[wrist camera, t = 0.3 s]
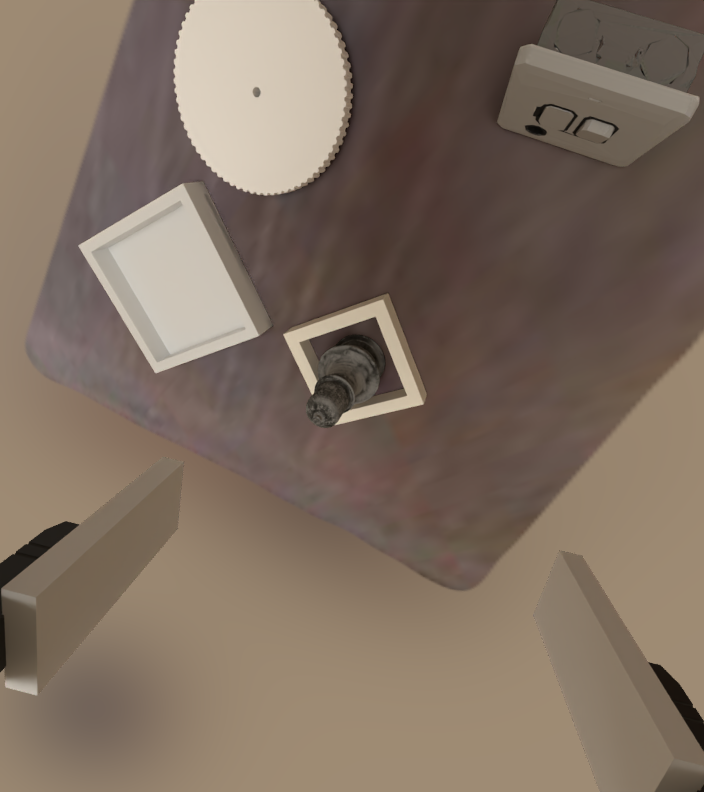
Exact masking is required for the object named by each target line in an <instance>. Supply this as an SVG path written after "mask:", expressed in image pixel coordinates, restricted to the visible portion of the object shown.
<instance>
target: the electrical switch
mask: <svg viewBox="0 0 704 792" xmlns="http://www.w3.org/2000/svg"><path fill="white" fill-rule="evenodd" d="M556 3H557V4H556ZM556 3H555V5H554V7H553V9H552V12H551V14H550V16H549V18H548V20H547V22H546V24H545V26H544V29H543V31H542V34H541V36H540V39H539V42H538V44H537V45H534V44H529V45H525V46H521V47H520V49H519V51H518V55H517V58H516V61H515V64H514V67H513V71H512V74H511V77H510V81H509V84H508V87H507V90H506V94H505V97H504V100H503V104H502V107H501V110H500V114H499V117H498V120H497V123H498V124H499V125H500V126H501V127H502V128H504V129H507V130H510V131H513V132H516V133H519V134H522V135H525V136H528V137H531V138H534V139H537V140H540V141H543V142H546V143H549V144H552V145H555V146H558V147H561V148H564V149H566V150H569V151H572V152H575V153H578V154H581V155H584V156H587V157H590V158H593V159H596V160H599V161H602V162H605V163H608V164H611V165H615V166H618V167H624V166H628V165H629V164H631V163H632V162H633V161H635V160H636V159H637V158H639V157H640V156H642V155H643V154H644V153H646V152H647V151H649V150H650V149H651V148H653V147H654V146H656V145H657V144H659V143H660V142H661V141H663V140H664V139H666V138H667V137H668V136H670V135H671V134H673V133H674V132H675V131H677V130H678V129H680V128H681V127H682V126H684V125H685V124H687V123H688V122H689V121H690V119H691V118H692V116H693V114H694V112H695V111H696V109H697V107H698V105H699V97H698V96H695V95H692V94H688V93H687V91H688V88H689V87H690V85H691V83H692V82H693V80H694V78H695V76H696V71H697V67H698V64H699V62H700V60H701V58H702V56H703V54H704V34H701V33H698V32H695V31H691V30H688V29H685V28H681V27H678V26H674V25H671V24H668V23H664V22H661V21H658V20H654V19H651V18H648V17H644V16H641V15H637V14H634V13H631V12H627V11H624V10H621V9H617V8H614V7H611V6H607V5H604V4H600V3H597V2H594V1H590V0H558V2H557V1H556ZM555 6H556V7H555ZM578 8H580V9H578ZM577 9H578V10H577ZM675 35H676V37H677V38H676V37H675ZM602 37H603V46H602V47H601V48H600V49H599V51H597V50H598V47H599V45H600V42H601V39H602ZM554 44H555V46H554ZM648 45H650V46H649V47H648ZM647 47H648V49H647ZM639 48H640V49H639ZM638 50H639V52H638V54H637V57H635V54H636V52H637V51H638ZM688 51H689V55H688ZM596 57H602V58H601V59H598V58H596ZM687 58H688V59H687ZM626 66H631V67H626ZM641 67H642V69H643V71H641V70H640V69H641Z"/></svg>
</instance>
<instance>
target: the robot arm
mask: <svg viewBox="0 0 704 792" xmlns="http://www.w3.org/2000/svg"><path fill="white" fill-rule="evenodd" d="M183 467H184V462H182V461H178V460H174V459H170V458H166V457H162V458H161V459H160V460H159V461H157V462H156V463H155V464H154V465H152V466H151V467H150V468H149V469H147V470H146V471H145V472H144V473H143V474H141V475H140V476H139V477H138V478H137V479H135V480H134V481H133V482H132V483H130V484H129V485H128V486H127V487H125V488H124V489H123V490H122V491H120V492H119V493H118V494H117V495H116V496H115V497H113V498H112V499H111V500H109V501H108V502H107V503H106V504H105V505H103V506H102V507H101V508H100V509H98V510H97V511H96V512H95V513H93V514H92V515H91V516H90V517H89V518H87V519H86V520H85V521H84V522H83V523H81V524H80V525H79V524H75V523H71V522H67V521H66V522H63V523H61V524H58V525H56V526H53V527H51V528H49V529H46V530H44V531H43V532H42V533H40V534H39V535H38V536H36V537H35V538H34V539H33V540H31V541H30V542H29V544H28V545H27V544H26V545H24V546H23V547H22V548H20V549H19V550H18V551H16V553H15V555H14V554H13V555H11V556H10V557H8V558H7V559H6V560H4V561H3V562H2V563H0V672H1V671H2V670H3V669H4V668H5V687H7V688H11V689H14V690H19V691H22V692H26V693H30V694H34V695H38V694H39V693H40V692H41V691H42V690H43V688H44V687H45V686H46V685H47V684H48V682H49V681H50V680H51V679H52V678H53V676H54V675H55V674H56V673H57V672H58V670H59V669H60V668H61V667H62V665H64V663H65V662H66V661H67V660H68V659H69V657H70V656H71V655H72V654H73V652H74V651H75V650H76V649H77V648H78V647H79V646H80V644H81V643H82V642H83V641H84V639H85V638H86V637H87V636H88V635H89V633H90V632H91V631H92V630H93V629H94V628H95V626H96V625H97V624H98V623H99V622H100V620H101V619H102V618H103V617H104V616H105V615H106V613H107V612H108V611H109V610H110V609H111V607H112V606H113V605H114V604H115V603H116V602H117V600H118V599H119V598H120V597H121V596H122V594H123V593H124V592H125V591H126V590H127V588H128V587H129V586H130V585H131V584H132V582H133V581H134V580H135V579H136V578H137V576H138V575H139V574H140V573H141V572H142V570H143V569H144V568H145V567H146V566H147V565H148V563H149V562H150V561H151V560H152V559H153V558H154V556H155V555H156V554H157V553H158V551H159V550H160V549H161V548H162V547H163V546H164V544H165V543H166V542H167V541H168V539H169V538H170V537H171V536H172V535H173V534H174V533H175V531H176V530H177V529H178V518H179V508H180V499H181V489H182V478H183ZM533 616H534V619H535V621H536V624H537V627H538V629H539V632H540V635H541V637H542V640H543V643H544V645H545V648H546V650H547V653H548V656H549V658H550V661H551V664H552V666H553V669H554V672H555V674H556V677H557V679H558V682H559V685H560V688H561V690H562V693H563V696H564V698H565V701H566V703H567V706H568V709H569V711H570V714H571V717H572V720H573V722H574V725H575V727H576V730H577V733H578V735H579V738H580V741H581V743H582V746H583V749H584V751H585V754H586V756H587V759H588V762H589V765H590V767H591V770H592V772H593V775H594V778H595V780H596V783H597V786H598V788H599V791H600V792H704V721H703V719H702V718H701V716H700V715H699V713H698V712H697V710H696V708H693V704H692V702H691V701H690V699H689V698H688V696H687V695H686V693H685V692H684V690H683V689H682V687H681V686H680V684H679V683H678V682H677V681H676V680H675V679H673V678H672V676H671V675H670V674H669V673H668V672H667V671H666V670H664V668H663V667H662V666H661V665H658V664H653V663H649V662H648V661H647V660H646V658H645V656H644V655H643V653H642V651H641V650H640V648H639V647H638V645H637V643H636V642H635V640H634V639H633V637H632V635H631V634H630V632H629V631H628V629H627V627H626V626H625V624H624V623H623V621H622V619H621V618H620V616H619V614H618V613H617V611H616V610H615V608H614V606H613V605H612V603H611V602H610V600H609V598H608V597H607V595H606V593H605V592H604V590H603V589H602V587H601V585H600V584H599V582H598V581H597V579H596V577H595V576H594V574H593V572H592V571H591V569H590V568H589V566H588V565H587V563H586V561H585V560H584V558H583V556H581V555H577V554H573V553H569V552H564V551H559V553H558V555H557V557H556V560H555V563H554V565H553V567H552V570H551V572H550V575H549V577H548V580H547V582H546V585H545V587H544V590H543V592H542V595H541V597H540V599H539V602H538V604H537V607H536V610H535V612H534V614H533Z"/></svg>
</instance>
